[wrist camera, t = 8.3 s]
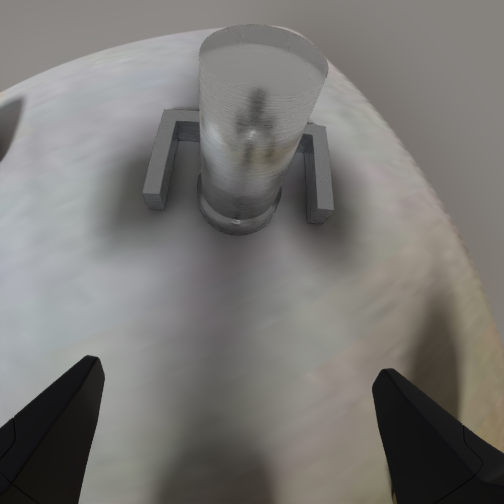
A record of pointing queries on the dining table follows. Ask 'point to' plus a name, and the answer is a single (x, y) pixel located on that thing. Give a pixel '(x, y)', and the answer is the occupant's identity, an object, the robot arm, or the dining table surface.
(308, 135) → the duct saddle
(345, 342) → the dining table surface
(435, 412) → the robot arm
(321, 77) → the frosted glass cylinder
